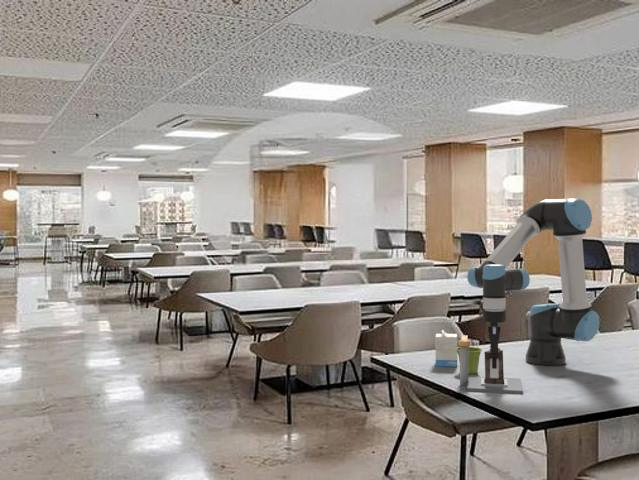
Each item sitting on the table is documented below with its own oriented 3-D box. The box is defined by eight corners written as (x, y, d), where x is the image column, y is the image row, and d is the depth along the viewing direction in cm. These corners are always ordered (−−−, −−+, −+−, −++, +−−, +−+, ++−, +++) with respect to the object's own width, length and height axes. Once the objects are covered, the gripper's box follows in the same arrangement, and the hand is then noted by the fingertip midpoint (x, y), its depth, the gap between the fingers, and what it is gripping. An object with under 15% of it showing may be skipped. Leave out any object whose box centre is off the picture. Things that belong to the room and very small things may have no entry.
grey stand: (520, 381, 240) (520, 343, 239) (522, 393, 222) (522, 353, 222) (460, 378, 245) (460, 341, 244) (458, 390, 227) (458, 351, 227)
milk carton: (457, 367, 263) (457, 332, 263) (435, 366, 265) (435, 332, 265) (457, 362, 272) (457, 329, 272) (436, 362, 274) (435, 328, 273)
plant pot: (467, 376, 248) (467, 352, 248) (451, 371, 257) (450, 348, 256) (487, 373, 253) (487, 349, 252) (470, 368, 261) (470, 345, 261)
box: (492, 383, 237) (491, 348, 237) (504, 385, 234) (504, 350, 234) (484, 386, 232) (483, 351, 232) (496, 388, 229) (496, 353, 229)
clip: (459, 339, 247) (459, 335, 247) (470, 339, 246) (470, 335, 246) (458, 346, 234) (458, 341, 234) (470, 346, 233) (470, 342, 233)
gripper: (483, 305, 245) (483, 366, 245) (482, 314, 222) (482, 381, 222) (504, 306, 243) (504, 367, 243) (506, 314, 220) (506, 382, 221)
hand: (494, 374), depth 233 cm, fingers open, 11 cm apart
